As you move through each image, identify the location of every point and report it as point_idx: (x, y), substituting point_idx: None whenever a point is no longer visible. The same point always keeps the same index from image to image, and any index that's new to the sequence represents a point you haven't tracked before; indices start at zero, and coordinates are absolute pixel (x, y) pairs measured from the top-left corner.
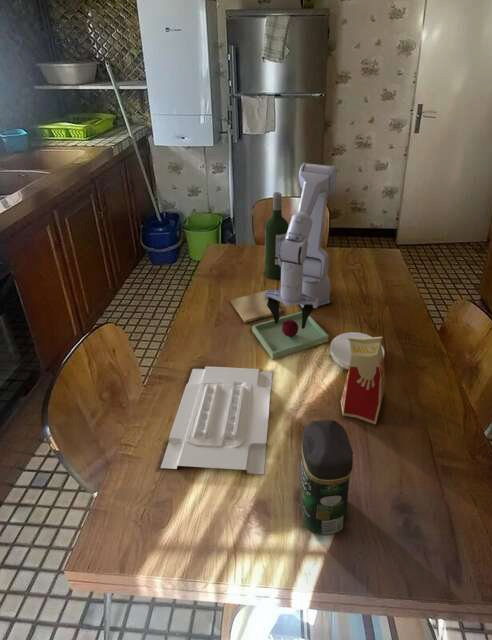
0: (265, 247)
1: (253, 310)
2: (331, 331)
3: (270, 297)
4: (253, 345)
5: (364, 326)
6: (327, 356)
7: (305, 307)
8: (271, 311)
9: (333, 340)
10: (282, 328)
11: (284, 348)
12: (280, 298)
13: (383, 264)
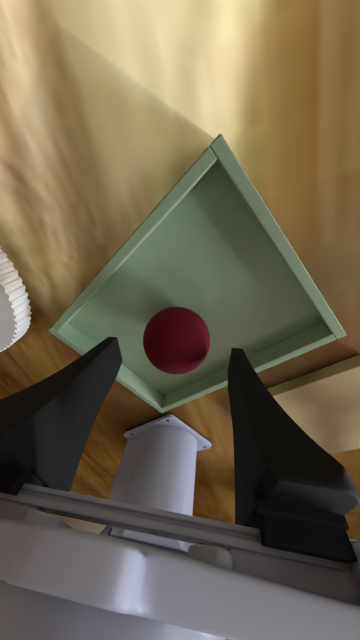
0: None
1: (328, 405)
2: (77, 355)
3: (351, 609)
4: (330, 230)
5: (23, 379)
6: (25, 246)
7: (10, 465)
8: (282, 413)
9: (9, 307)
10: (204, 331)
11: (167, 211)
12: (214, 632)
13: (87, 490)
